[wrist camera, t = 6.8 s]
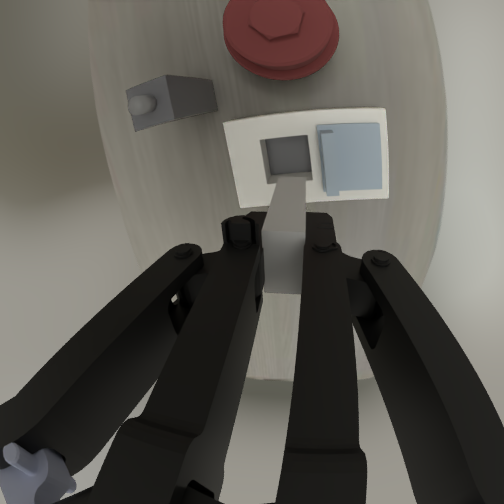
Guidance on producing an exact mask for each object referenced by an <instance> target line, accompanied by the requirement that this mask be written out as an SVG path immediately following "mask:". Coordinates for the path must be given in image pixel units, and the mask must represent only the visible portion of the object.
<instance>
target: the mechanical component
mask: <svg viewBox="0 0 504 504" xmlns="http://www.w3.org/2000/svg"><path fill="white" fill-rule="evenodd" d="M223 30H224V40H225V43H226V46H227V49H228V50H229V52H230V54H231V55H232V57H233V58H234V59H235V60H236V61H237V62H238V63H239V64H240V65H241V66H243V67H244V68H245V69H247V70H249V71H251V72H252V73H254V74H257V75H259V76H262V77H265V78H268V79H273V80H294V79H299V78H303V77H306V76H308V75H311V74H313V73H315V72H316V71H318V70H319V69H321V68H322V67H323V66H324V65H325V64H326V63H327V62H328V61H329V60H330V58H331V57H332V56H333V54H334V52H335V50H336V48H337V45H338V41H339V27H338V22H337V20H336V17H335V15H334V13H333V12H332V10H331V8H330V7H329V6H328V4H327V3H326V1H325V0H230V1H229V3H228V5H227V6H226V8H225V12H224V15H223Z"/></svg>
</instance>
